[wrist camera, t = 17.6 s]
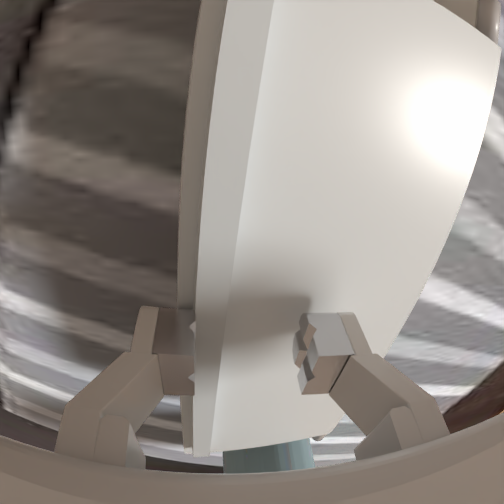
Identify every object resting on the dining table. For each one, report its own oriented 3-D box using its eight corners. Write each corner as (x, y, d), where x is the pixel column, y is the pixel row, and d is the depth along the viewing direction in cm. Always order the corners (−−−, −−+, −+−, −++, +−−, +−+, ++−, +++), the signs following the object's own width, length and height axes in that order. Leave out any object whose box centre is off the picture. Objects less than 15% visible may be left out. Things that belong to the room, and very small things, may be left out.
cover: (326, 423, 17) (333, 441, 16) (183, 442, 15) (186, 463, 14) (485, 45, 6) (516, 51, 5) (213, -60, 4) (220, -82, 3)
